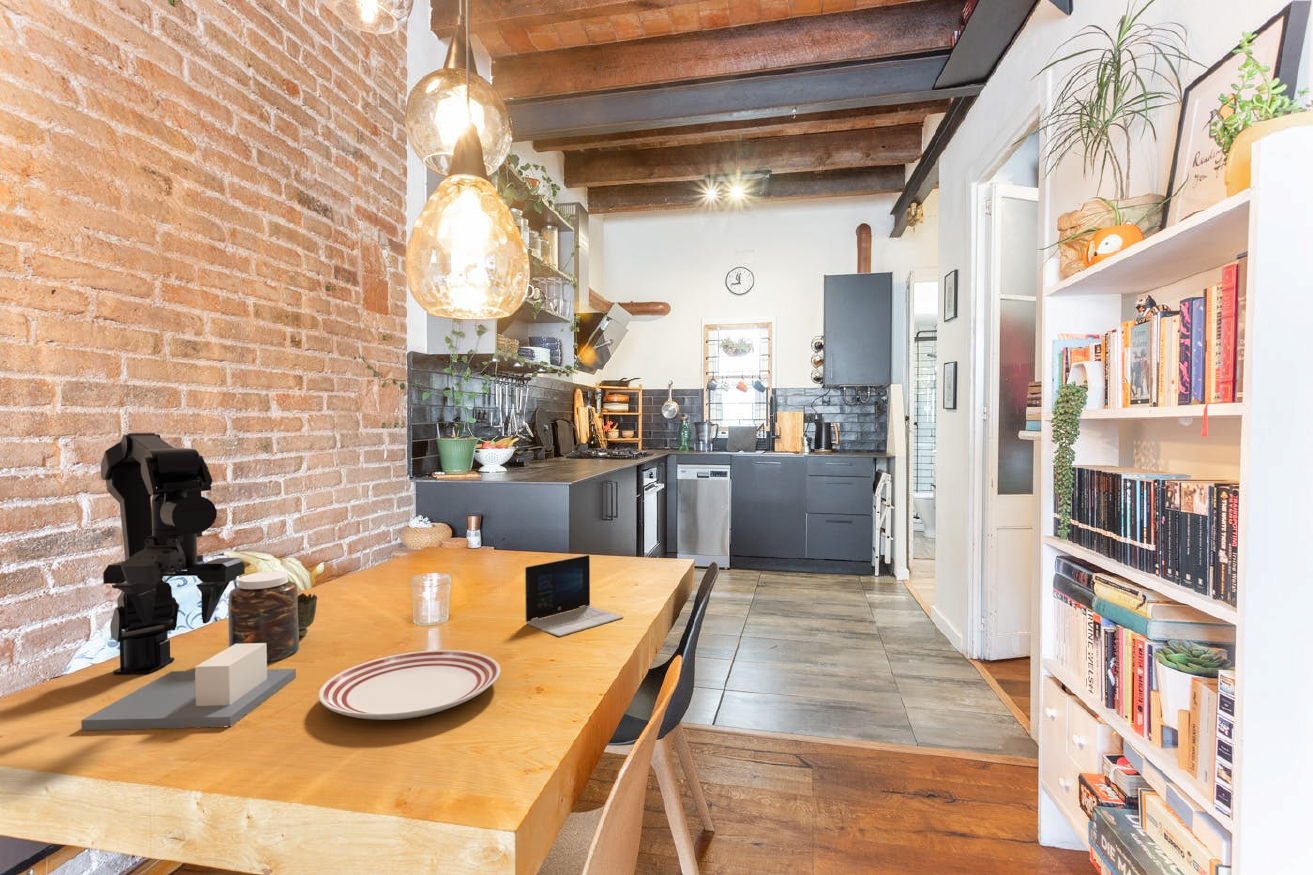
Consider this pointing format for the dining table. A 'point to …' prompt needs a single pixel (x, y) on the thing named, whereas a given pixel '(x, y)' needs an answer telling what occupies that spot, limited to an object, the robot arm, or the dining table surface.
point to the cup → (306, 612)
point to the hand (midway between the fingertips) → (176, 623)
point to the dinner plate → (409, 684)
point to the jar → (265, 613)
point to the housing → (230, 674)
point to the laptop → (562, 597)
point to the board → (181, 704)
